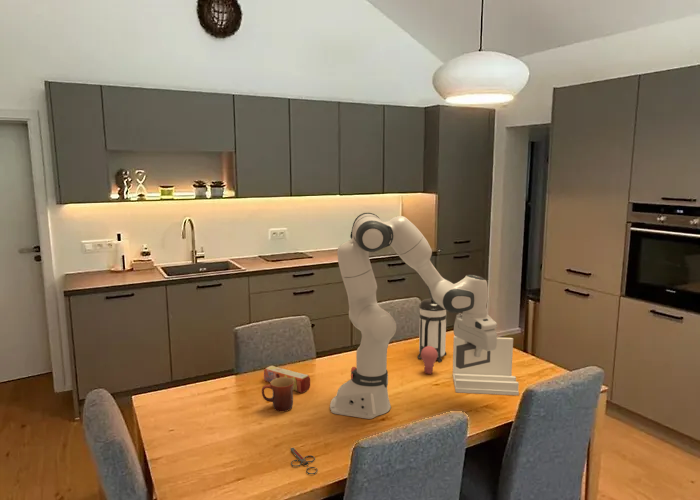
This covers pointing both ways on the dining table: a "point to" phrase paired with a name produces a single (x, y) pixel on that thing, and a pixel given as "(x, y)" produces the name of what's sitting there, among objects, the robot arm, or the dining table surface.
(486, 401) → the dining table surface
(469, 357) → the picture frame
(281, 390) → the mug
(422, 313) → the coffee press
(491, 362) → the picture ledge
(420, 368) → the dining table surface
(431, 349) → the light bulb
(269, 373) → the snack package
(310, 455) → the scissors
